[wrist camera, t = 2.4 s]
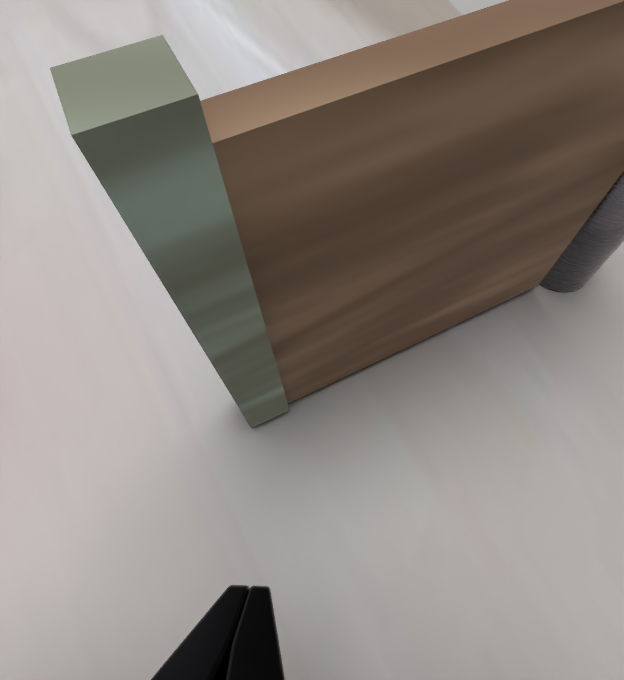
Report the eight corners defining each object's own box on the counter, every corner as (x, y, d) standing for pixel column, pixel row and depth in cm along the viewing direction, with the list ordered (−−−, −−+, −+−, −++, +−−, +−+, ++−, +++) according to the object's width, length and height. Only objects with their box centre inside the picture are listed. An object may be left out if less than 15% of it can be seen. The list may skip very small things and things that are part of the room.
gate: (542, 289, 21) (857, -119, 8) (251, 428, 18) (71, 134, 6) (518, 264, 21) (772, -144, 9) (236, 392, 19) (49, 68, 6)
